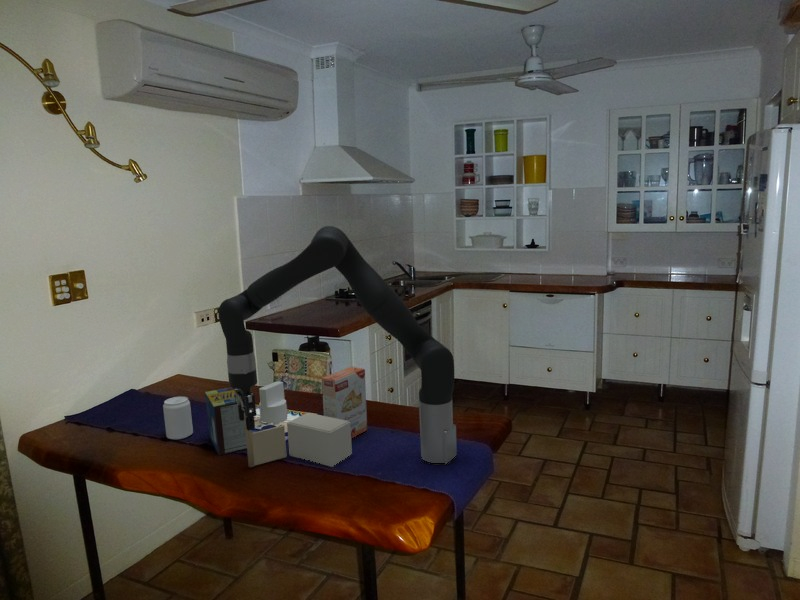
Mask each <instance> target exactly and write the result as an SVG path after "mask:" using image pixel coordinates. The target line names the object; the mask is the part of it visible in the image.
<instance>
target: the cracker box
mask: <svg viewBox="0 0 800 600" xmlns="http://www.w3.org/2000/svg"><path fill="white" fill-rule="evenodd" d="M321 388H322V389H321V390H322V405H323V407H322V408H323V416H327V417H332V418H336V419H341V420H346V421H348V422H350V428H351V440H353V439H355V438H356V436H357V435H359V434H361V433H363V432H365V431H366V430H367V431H368V419H367V418H368V417H367V416H368V414H367V413H368V412H367V392H366V391H367V390H366V370H365V369H364V368H363V367H355V366H350V367H347V368H344V369H342V370H338V371H336V372H334V373H330V374H327V375H326V376H323V377H321ZM365 433H366V432H365ZM363 434H364V433H363ZM361 435H362V434H361ZM359 436H360V435H359ZM354 437H355V438H354ZM357 437H358V436H357ZM352 438H353V439H352Z"/></svg>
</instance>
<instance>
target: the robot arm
mask: <svg viewBox="0 0 800 600" xmlns="http://www.w3.org/2000/svg"><path fill="white" fill-rule="evenodd" d="M333 268H335V269H336V270H337V271H338V272H339V273H340V274H341V275H342V276H343V277H344V279H346V281H347V283H348V285H349V286H350V288H351V290H352V292H353V294H354V295H355V297H356V299H357V301H358V302H359V304H360V305H361V307H362V308H363V309H364V311H365V312H366V314H368V315H369V316H370V317H371V319H372V320H374V322H376V324H378V325H379V326H380V327H381V328H382V329H383V330H385V332H387V333H388V334H389V335H390V336H392V337H393V338H394V339H396V340H397V341H398V342H399V343H400V344H401V345H402V347H403V348H404V349H405V350H406V351H407V353H408V354H409V355H410V357H411V358H412V360H414V363H415V365H417V367H418V369H420V371H421V375H420V378H421V385H420V386H421V388H419V390H418V407H419V409H418V411H419V432H420V433H419V435H420V458H421V457H422V458H421V460H422V459H423V460H425V461H427V462H431V463H445V464H444V465H446V464H447V463H448V462H449V463H451V462H452V461H453V460H454V459H455V458H456V457H455V456H456V455H457V456H458V453H457V452H458V451H457V424H454V421H453V420H454V419H453V418H454V417H453V416H454V414H453V412H454V411H453V409H454V408H453V392H454V389H455V359H454V356H453V354H452V352H451V351H450V349H449V348H448V347H446V346H445V345H444V344H442V343H441V342H440V341H438V340H437V339H435V338H434V337H433V336H432V335H431V334H430V333H429V332H428V331H427V330H426V329H424V328H423V327H422V326H421V324H420V323H418V321H417V319H416V318H415V316H414V314H413V313H412V311H411V310H410V308H409V307H408V305H407V304H406V303H405V301H404V300H403V299H402V298H401V296H400V295H399V294H398V293H397V292H396V291H395V290H394V289H393V288H392V287H391V286H390V285H389V284H388V283H387V282H386V281H385V279H384V278H383V277H382V276H381V275H380V274H379V273H378V272H377V271H376V270H375V269H374V268H373V267H372V265H370V264H369V263H368V262H367V260H365V258H364V257H363V256H362V255H361V254H360V252H359V251H358V249H357V248H356V247H355V245H354V244H353V242H352V241H351V240H350V238H348V236H347V235H346V233H345V232H344V231H343V230H341V229H340V228H338V227H335V226H333V225H328V226H327V225H326V226H323V227H321V228H319V229H318V230H317V232H315V234H314V236H313V237H312V240H311V241H310V243H309V244H308V245H307V247H306V248H305V249H303V250H302V252H300V253H299V254H298V255H296V256H295V257H294V258H293V259H291V260H290V261H289V262H287V263H285V264H283V265H280V266H277V267H276V268H274V269H271V270H269V271H268V272H267V273H265V274H263V275H262V276H260V277H259V278H258V279H256V280H255V281H253V282H252V283H251V284H249V285H248V287H247V289H245V290H244V291H242V292H240V293H239V294H237V295H235V296H232V297H229V298H226V299H224V300H223V301H222V302H221V303H220V305H219V308H218V321H219V324H220V326H221V327H220V328H221V330H222V333H223V335H224V338H225V345H226V354H227V355H226V356H227V357H226V364H227V366H226V368H227V376H228V385H229V388H230V387H231V388H234V390H235V402H236V403H237V407H239V408H238V411H239V419H240V420H241V421H242V420H244V413H245V419H246V429H247V430H248V431H249V430H252V431H253V430H255V429H256V425H255V424H256V422H255V417H257V414H258V413H257V408H256V398H255V397H256V395H255V394H254V392H253V391H251V388H252V387H255V386H256V385H257V384H258V376H257V363H256V357H255V352H254V349H255V348H254V339H253V335H252V333H251V331H249V330H246V326H245V321H247V320H248V319H250V318H252V316H254V315H255V314H257V313H258V312H259V311H260V310H262V309H263V308H264V307H266V306H268V305H269V304H271V303H273V302H274V301H276V300H277V299H279V298H281V297H282V296H283V295H285V294H286V293H288V292H289V291H291V290H292V289H293V288H295V287H296V286H298V285H300V284H302V283H303V282H305V281H306V280H308V279H310V278H312V277H315V276H316V275H319V274H321V273H323V272H326V271H328V270H331V269H333ZM249 409H250V413H249ZM454 457H455V458H454ZM453 458H454V459H453ZM452 459H453V460H452ZM423 460H422V461H423ZM451 460H452V461H451ZM450 461H451V462H450ZM449 463H448V464H449ZM448 464H447V465H448Z"/></svg>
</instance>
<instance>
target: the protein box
mask: <svg viewBox="0 0 800 600" xmlns="http://www.w3.org/2000/svg"><path fill="white" fill-rule="evenodd" d="M204 395H205V404H206V406H205V407H206V416H207V424H208V431H209V439H210V441H211V443H212V445H213V446H214V449H215V451H216V453H217V455H218V456H222V455H226V454H232V453H235V452H239V450H240V451H244V449H245V450H247V443H246V432H245V421H244V420H242V421H241V420H240V419H239V411H238V408H239V407H237V403H236V402H235V390H234V388H231V387H230V386H229V387H227V388H226V387H225V388H220V389H214V390H209V391H204ZM249 412H251V409H249ZM251 432H252V433H253V430H251Z"/></svg>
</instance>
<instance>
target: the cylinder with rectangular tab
mask: <svg viewBox="0 0 800 600" xmlns="http://www.w3.org/2000/svg"><path fill="white" fill-rule="evenodd" d="M258 389H259V390H258V391H259V401H260V402H259V403H258V404H259V405H258V406H259V415H260V416H259V418H260V422H261V421H263V422H266V423H277V424H280V422H281V423H284V422H285V421H287V420H288V418H287V417H288V405H287V400H286V399H285V390H284V389H285V388H284V382H283V381H278V380H277V381H275V382H271V383H269V384H267V385H264V386H262V387H260V388H258Z"/></svg>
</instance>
